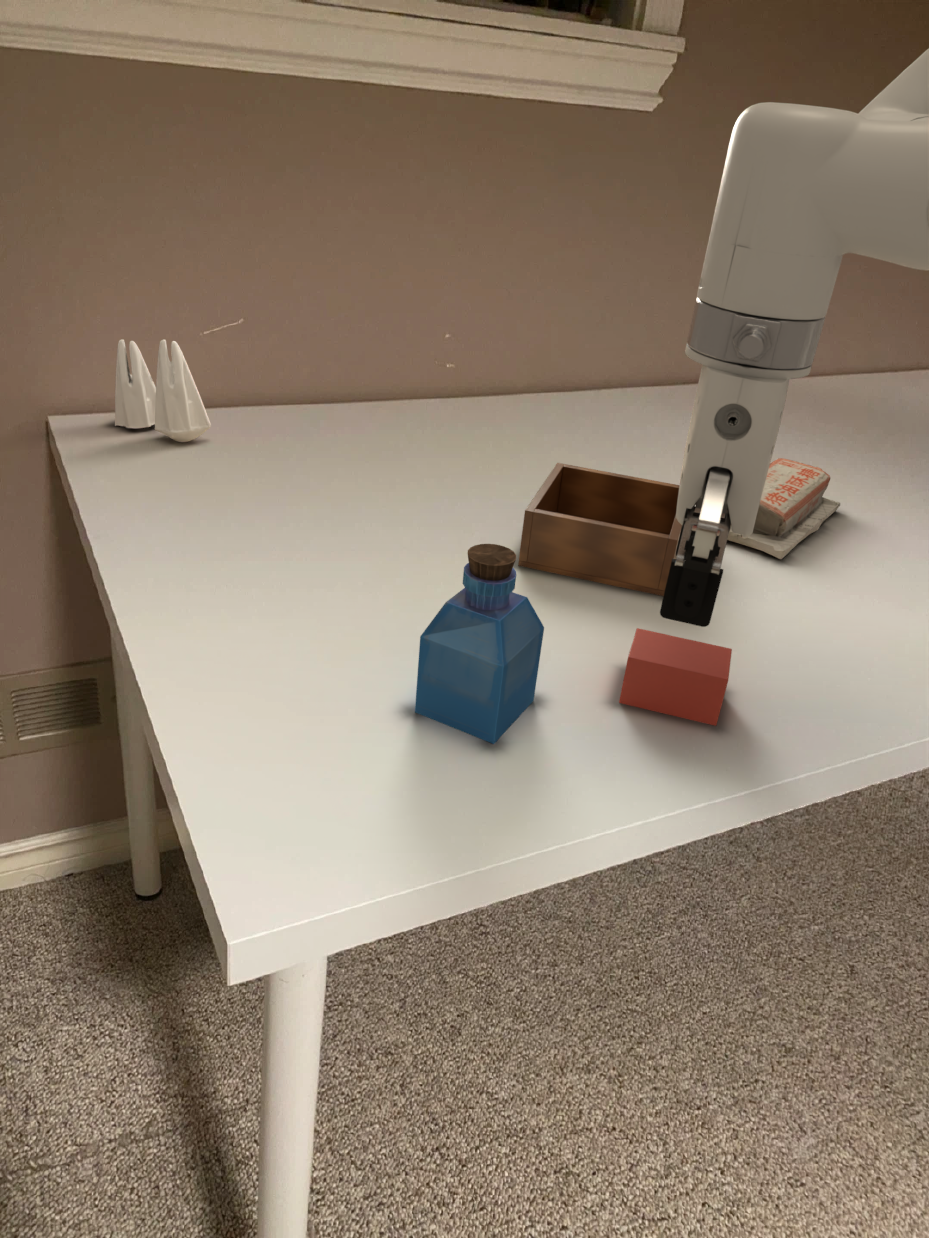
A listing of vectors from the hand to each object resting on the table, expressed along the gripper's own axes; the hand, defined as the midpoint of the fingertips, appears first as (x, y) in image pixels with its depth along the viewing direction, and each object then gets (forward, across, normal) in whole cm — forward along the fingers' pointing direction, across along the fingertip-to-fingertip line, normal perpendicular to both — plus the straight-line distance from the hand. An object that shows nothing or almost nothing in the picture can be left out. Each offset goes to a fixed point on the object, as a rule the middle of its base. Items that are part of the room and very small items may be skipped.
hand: (690, 588), depth 65 cm
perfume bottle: (+10, -7, +12) cm, 17 cm away
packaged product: (+9, +39, -6) cm, 41 cm away
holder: (+9, +23, +8) cm, 26 cm away
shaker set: (+10, +31, +62) cm, 70 cm away
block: (+9, 0, 0) cm, 9 cm away
